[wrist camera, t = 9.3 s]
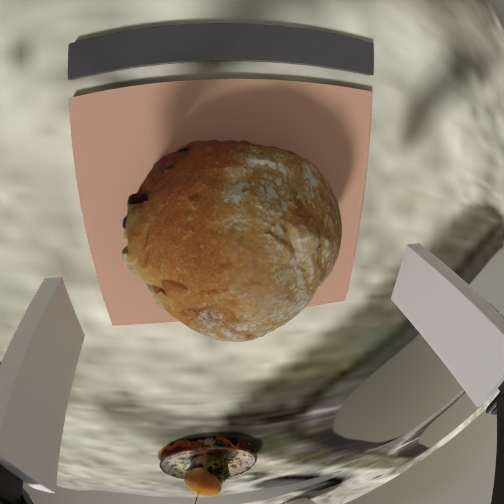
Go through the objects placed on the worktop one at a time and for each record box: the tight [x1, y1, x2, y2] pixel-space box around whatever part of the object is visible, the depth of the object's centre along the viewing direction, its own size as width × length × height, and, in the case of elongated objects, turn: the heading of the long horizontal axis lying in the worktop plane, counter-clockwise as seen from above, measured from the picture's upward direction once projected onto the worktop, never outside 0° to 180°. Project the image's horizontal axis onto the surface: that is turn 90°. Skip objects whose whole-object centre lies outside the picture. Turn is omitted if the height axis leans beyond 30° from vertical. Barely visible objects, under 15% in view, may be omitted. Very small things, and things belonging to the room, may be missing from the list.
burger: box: [158, 436, 258, 504], centre depth 27 cm, size 12×12×8 cm
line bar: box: [68, 23, 374, 80], centre depth 12 cm, size 2×16×1 cm, turn 90°
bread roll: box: [121, 139, 342, 342], centre depth 14 cm, size 10×10×8 cm
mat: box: [69, 79, 372, 325], centre depth 16 cm, size 14×16×1 cm
